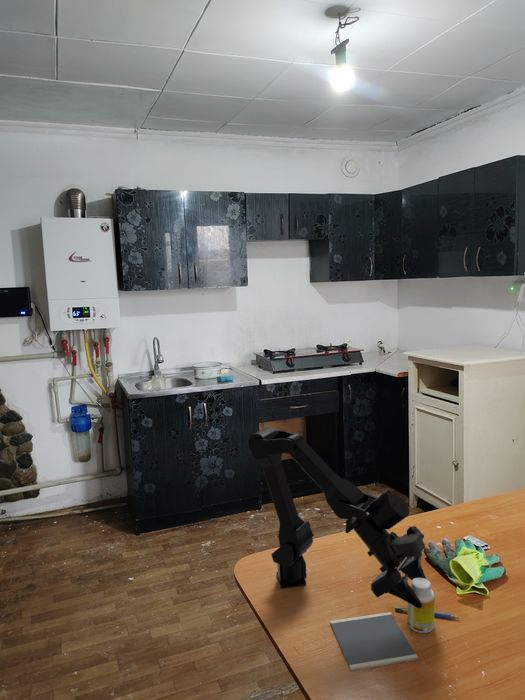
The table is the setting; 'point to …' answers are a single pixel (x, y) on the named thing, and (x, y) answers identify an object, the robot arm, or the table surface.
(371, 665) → the mat
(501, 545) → the table surface
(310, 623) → the table surface
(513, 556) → the table surface
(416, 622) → the supplement bottle
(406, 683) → the table surface
